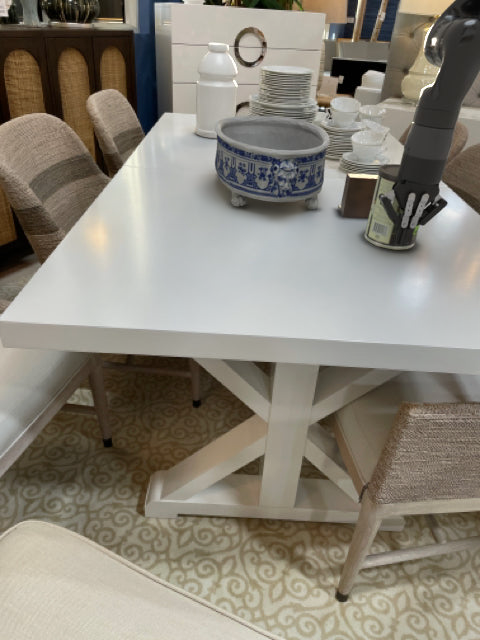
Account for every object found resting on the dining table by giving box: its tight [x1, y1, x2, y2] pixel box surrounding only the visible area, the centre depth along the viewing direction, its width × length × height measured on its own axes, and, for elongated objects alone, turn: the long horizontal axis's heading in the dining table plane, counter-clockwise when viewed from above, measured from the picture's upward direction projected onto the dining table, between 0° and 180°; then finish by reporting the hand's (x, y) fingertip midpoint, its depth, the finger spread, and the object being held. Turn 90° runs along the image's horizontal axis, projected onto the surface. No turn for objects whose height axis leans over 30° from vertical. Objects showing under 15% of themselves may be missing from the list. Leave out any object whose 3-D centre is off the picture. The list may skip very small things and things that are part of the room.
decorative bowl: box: [214, 115, 331, 210], centre depth 115 cm, size 42×27×15 cm, turn 8°
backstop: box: [337, 173, 378, 219], centre depth 107 cm, size 16×5×9 cm, turn 93°
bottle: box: [195, 42, 239, 140], centre depth 160 cm, size 14×14×28 cm
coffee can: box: [363, 163, 420, 251], centre depth 94 cm, size 10×10×14 cm
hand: (400, 244), depth 92 cm, fingers closed
